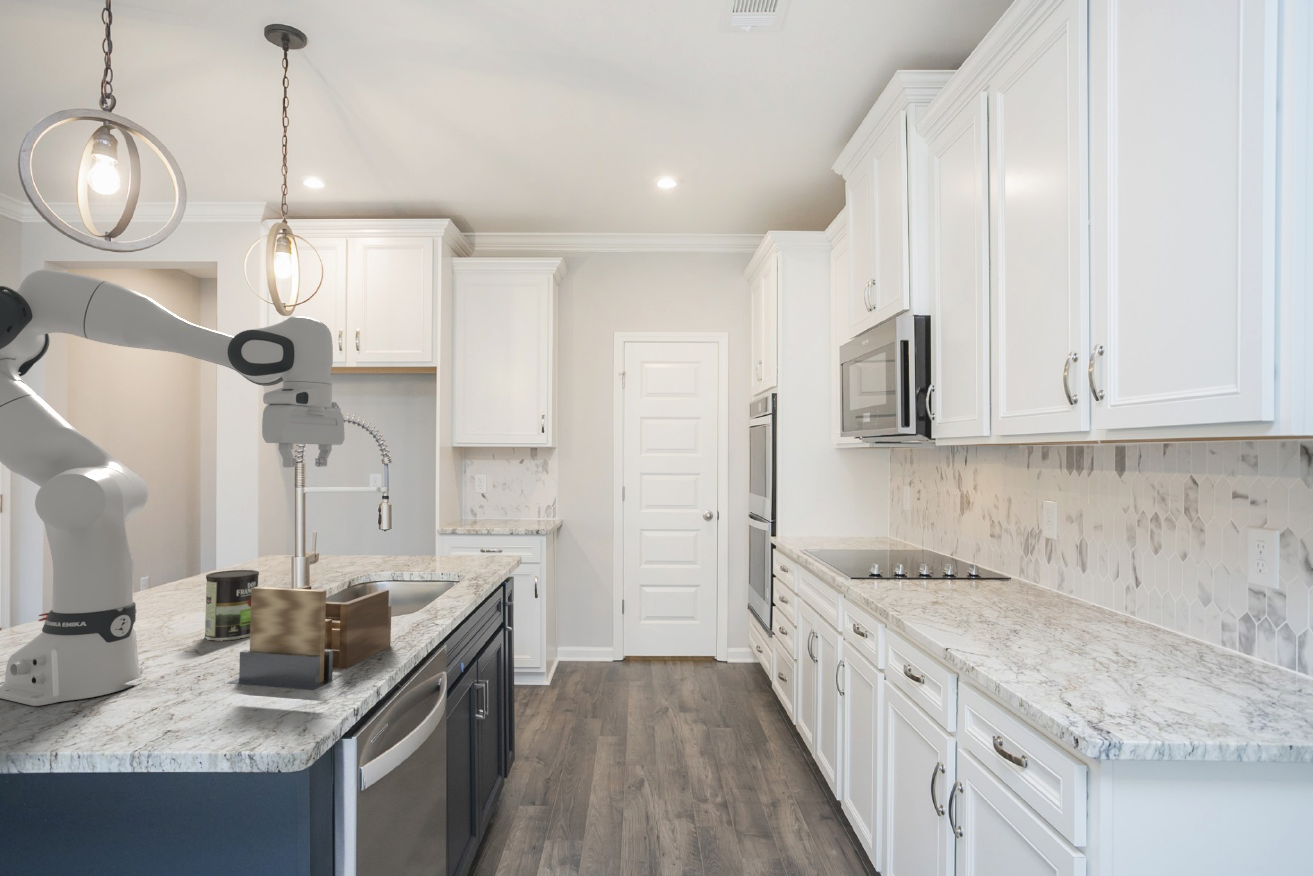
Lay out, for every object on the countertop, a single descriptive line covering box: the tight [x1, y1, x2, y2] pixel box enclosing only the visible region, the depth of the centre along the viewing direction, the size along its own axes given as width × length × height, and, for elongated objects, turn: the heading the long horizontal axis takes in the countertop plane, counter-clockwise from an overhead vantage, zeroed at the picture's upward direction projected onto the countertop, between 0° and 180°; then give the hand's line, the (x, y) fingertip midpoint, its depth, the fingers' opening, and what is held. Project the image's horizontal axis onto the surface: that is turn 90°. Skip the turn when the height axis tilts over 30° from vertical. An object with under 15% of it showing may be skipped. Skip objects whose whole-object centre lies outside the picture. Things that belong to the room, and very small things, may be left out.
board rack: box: [294, 585, 392, 670], centre depth 137 cm, size 20×16×14 cm
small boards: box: [325, 619, 340, 649], centre depth 134 cm, size 14×4×8 cm, turn 80°
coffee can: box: [204, 569, 260, 642], centre depth 155 cm, size 10×10×14 cm
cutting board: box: [249, 586, 327, 683], centre depth 121 cm, size 14×1×16 cm, turn 81°
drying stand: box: [227, 649, 344, 691], centre depth 121 cm, size 17×8×6 cm, turn 80°
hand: (305, 467), depth 136 cm, fingers open, 8 cm apart
